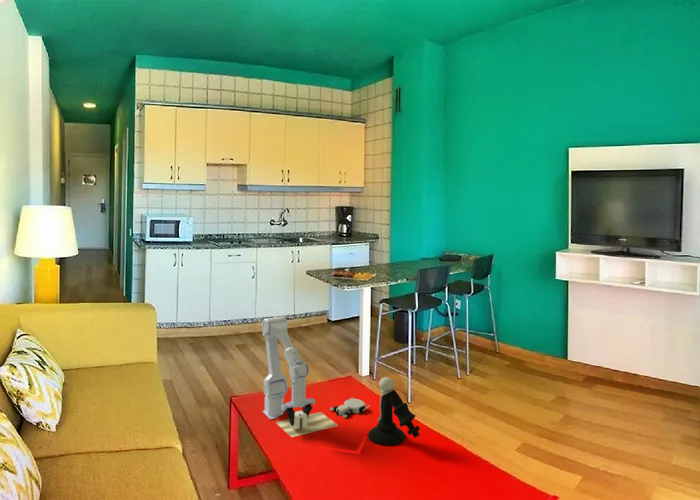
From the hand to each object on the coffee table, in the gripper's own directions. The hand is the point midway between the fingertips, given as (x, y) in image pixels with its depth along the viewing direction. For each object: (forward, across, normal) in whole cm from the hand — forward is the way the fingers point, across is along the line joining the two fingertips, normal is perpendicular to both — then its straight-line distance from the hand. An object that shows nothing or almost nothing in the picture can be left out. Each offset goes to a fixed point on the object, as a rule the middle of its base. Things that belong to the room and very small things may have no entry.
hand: (298, 423), depth 218 cm
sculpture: (+3, +30, -27) cm, 41 cm away
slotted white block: (+1, 0, 0) cm, 1 cm away
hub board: (+3, +5, +2) cm, 6 cm away
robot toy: (+3, +28, +5) cm, 29 cm away
